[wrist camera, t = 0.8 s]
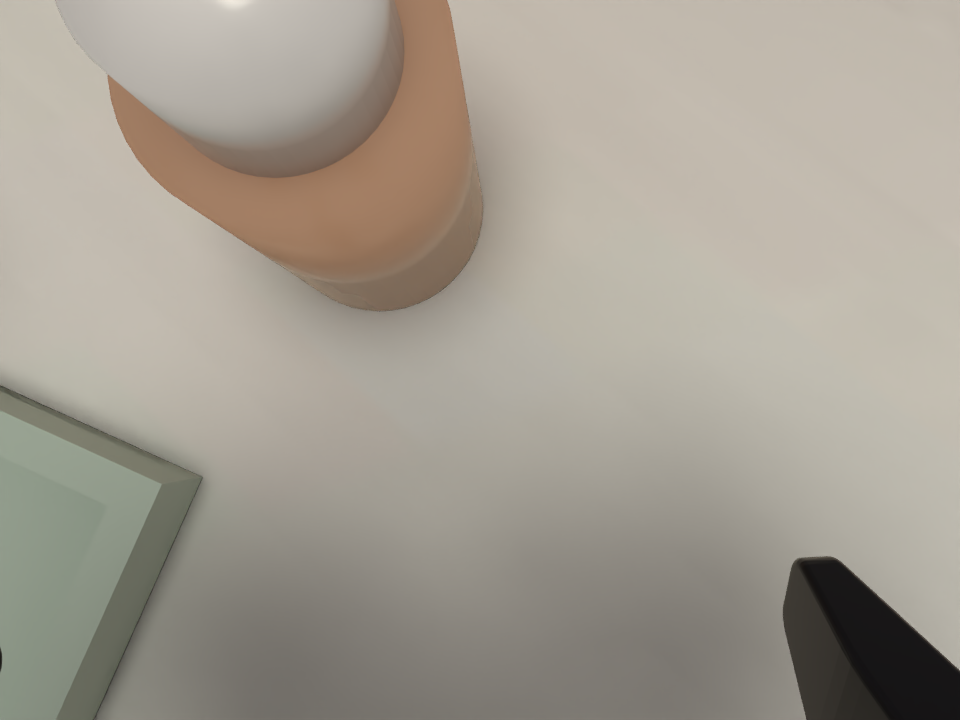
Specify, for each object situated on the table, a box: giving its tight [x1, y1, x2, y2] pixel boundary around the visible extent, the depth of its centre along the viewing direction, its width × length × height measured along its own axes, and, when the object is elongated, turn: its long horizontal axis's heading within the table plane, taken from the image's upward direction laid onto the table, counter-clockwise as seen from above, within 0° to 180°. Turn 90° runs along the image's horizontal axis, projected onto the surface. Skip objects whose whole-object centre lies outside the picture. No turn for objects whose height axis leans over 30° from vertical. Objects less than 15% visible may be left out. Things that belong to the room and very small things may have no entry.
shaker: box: [55, 0, 483, 311], centre depth 16 cm, size 6×6×12 cm
